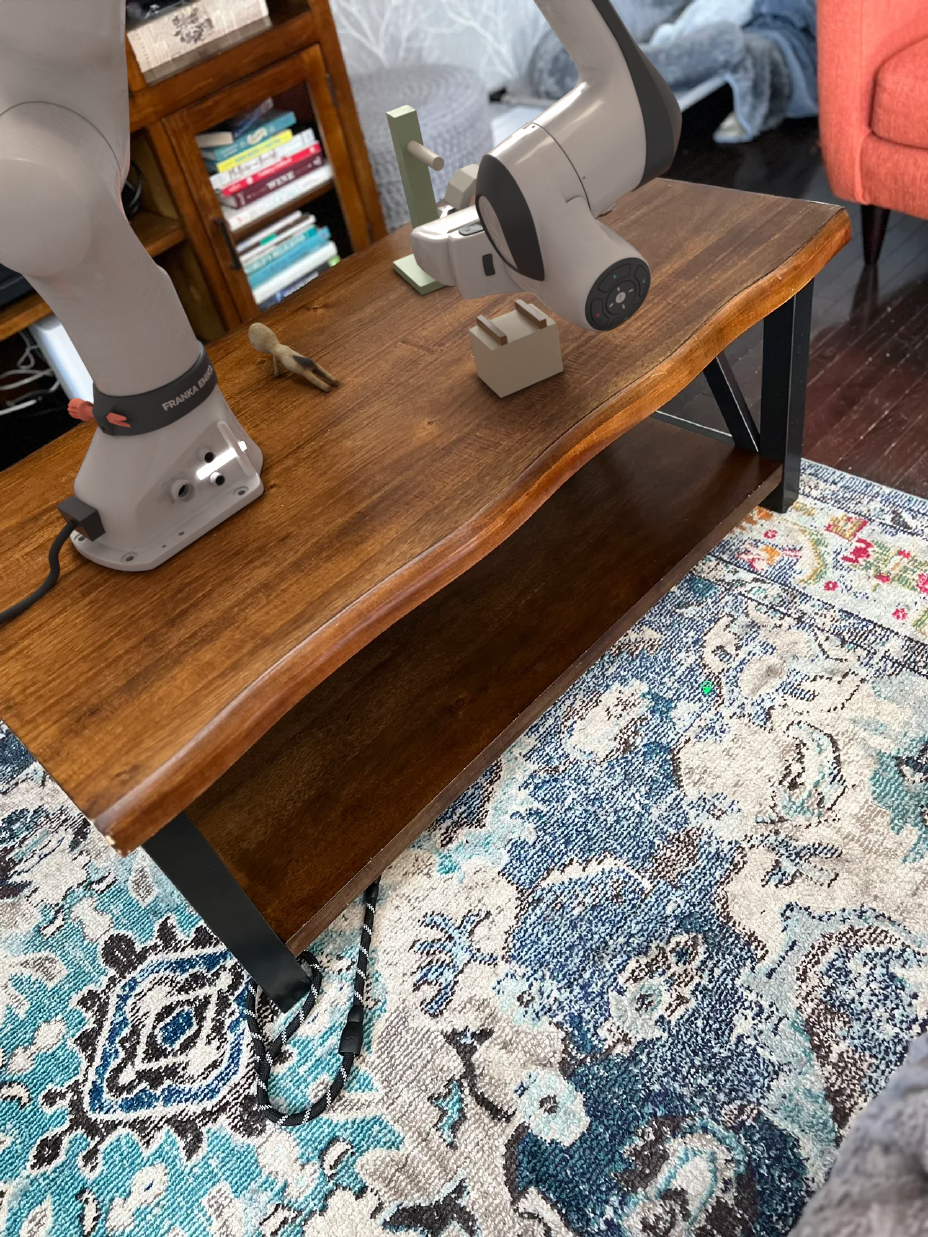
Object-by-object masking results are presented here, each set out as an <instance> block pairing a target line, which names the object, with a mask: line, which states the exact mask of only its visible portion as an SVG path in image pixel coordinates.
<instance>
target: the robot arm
mask: <svg viewBox="0 0 928 1237" xmlns="http://www.w3.org/2000/svg"><path fill="white" fill-rule="evenodd" d="M532 1H533V2H534V4H535V5H536V7H537V8H538V10H539V11H540V13H541V15H542V16H543V17H544V20H546V22H547V24H548V26H549V27H550V28H551V30H552V31H553V33H554V34H555V36H556V37H557V39H558V40H559V42H560V44H561V45H562V47H563V48H564V50H565V51H566V52H567V54H568V56H569V57H570V58H571V60H572V62H573V63H574V64H575V67H576V69H577V72H578V78H577V82H576V84H575V86H573V88H572V89H571V90H570V91H569V92H567V93H566V94H564V95H563V96H562V97H561V98H559V99H558V100H556V102H554V103H553V104H552V105H550V106H549V107H547V108H546V109H545V110H544V111H542V112H541V113H539V114H538V115H537V116H535V117H534V118H533V119H531V120H529V121H528V122H526V123H524V124H523V125H522V126H520V127H519V128H517V129H516V130H515V131H513V132H512V133H511V134H510V135H508V136H507V137H505V139H503V140H502V141H501V142H499V143H498V144H496V145H495V146H494V147H493V148H492V149H490V150H489V151H488V152H487V153H486V154H484V155H482V158H481V160H480V162H479V169H478V173H477V180H476V191H475V194H474V204H472V205H469V207H467V208H465V209H462V210H460V211H457V212H455V207H453V206H452V205H451V204H447V205H445V204H444V205H442V206H439V207H437V212H438V217H439V219H437V220H434V221H432V222H429V223H426V224H424V225H421V226H418V227H416V228H414V229H413V228H412V231H411V233H410V235H409V239H410V240H409V241H410V246H411V250H412V254H414V257H415V260H416V263H417V265H418V266H419V267H420V268H421V269H422V270H423V271H424V272H425V273H427V274H428V275H429V276H431V277H432V278H434V279H435V280H437V281H438V282H440V283H442V284H445V285H446V286H447V287H448V286H449V287H456V288H457V290H458V294H459V295H460V297H461V298H463V299H464V300H468V301H469V300H471V301H472V300H476V299H480V298H484V297H490V296H496V295H501V294H502V295H503V294H513V293H514V294H517V293H518V294H519V293H528V294H530V295H532V296H534V297H536V298H537V300H538V301H539V302H540V303H541V304H542V305H543V306H544V307H546V308H547V310H550V311H551V312H552V313H554V314H555V315H557V316H558V317H560V318H562V319H563V320H565V321H566V322H567V323H570V324H572V325H574V326H576V327H577V328H580V329H583V330H585V331H588V332H592V333H593V332H594V333H604V332H609V331H613V330H615V329H617V328H618V327H619V326H621V325H624V323H625V322H627V321H628V320H629V319H630V318H632V317H633V316H634V315H635V314H636V313H637V311H639V309H640V308H641V306H642V305H643V304H644V302H645V300H646V298H647V297H648V294H649V291H650V288H651V284H652V271H651V266H650V265H649V263H648V261H647V259H646V258H645V257H644V255H643V254H642V253H641V252H640V251H639V250H638V249H636V247H635V246H634V245H632V243H630V242H629V241H628V240H627V239H626V238H624V237H623V236H622V235H620V234H619V233H617V232H616V231H615V230H613V229H612V228H610V227H609V226H607V225H606V224H605V223H602V221H601V220H602V219H603V218H604V217H606V216H608V215H610V214H611V213H612V212H613V209H614V208H615V207H617V205H618V203H619V201H621V200H622V199H623V198H624V197H626V196H627V195H628V194H630V193H634V192H635V191H637V190H639V189H640V188H642V187H644V186H645V185H647V184H648V183H650V182H652V181H653V180H655V179H657V178H658V177H659V176H661V175H663V174H665V173H667V172H668V171H669V170H670V168H671V166H672V164H673V161H674V159H675V156H676V153H677V150H678V147H679V142H680V137H681V133H682V126H683V125H682V124H683V115H682V111H681V107H680V105H679V102H678V100H677V98H676V96H675V94H674V92H673V90H672V89H671V87H670V86H669V84H668V83H667V81H666V80H665V79H664V77H663V75H662V74H661V73H660V71H659V70H658V69H657V68H656V66H655V65H654V64H653V63H652V61H651V60H650V59H649V58H648V56H647V55H646V54H645V53H644V51H643V50H642V49H641V47H640V46H639V45H638V43H637V42H636V41H635V39H634V37H633V36H632V35H631V33H630V31H629V29H628V28H627V27H626V24H625V23H624V21H623V20H622V18H621V16H620V15H619V13H618V11H617V10H616V8H615V7H614V5H613V3H612V2H611V0H532ZM126 2H127V1H126V0H0V264H1V265H2V266H4V267H6V268H7V269H10V270H12V271H14V272H17V273H19V274H21V275H22V276H23V277H24V279H25V280H26V281H27V282H28V283H29V284H30V286H31V287H32V288H33V289H34V291H36V292H37V293H38V295H39V296H40V297H41V298H42V299H43V301H44V302H45V303H46V304H47V306H48V307H49V309H51V312H52V313H54V315H55V316H56V318H57V319H58V321H59V322H60V324H61V326H62V327H63V329H64V330H65V333H66V334H67V337H68V338H69V340H70V342H71V343H72V345H73V347H74V349H75V351H76V352H77V354H78V356H79V358H80V360H81V362H82V363H83V365H84V367H85V369H86V371H87V373H88V374H89V376H90V379H91V380H92V397H93V398H92V399H93V401H92V402H91V401H89V400H84V399H82V398H80V397H74V398H72V399H70V401H69V403H68V404H67V406H68V408H67V411H68V414H69V415H70V417H72V418H74V419H77V420H81V421H84V422H89V421H91V420H92V419H94V420H95V422H96V425H97V427H96V430H95V432H94V434H93V437H92V439H91V442H90V444H89V447H88V450H87V451H86V454H85V456H84V459H83V460H82V463H81V465H80V468H79V470H78V472H77V474H76V476H75V479H74V482H73V494H74V495H72V494H71V495H70V496H69V497H67V498H65V499H64V500H63V501H61V502H59V503H58V504H57V505H55V507H56V509H57V510H58V513H60V515H61V517H62V518H63V520H64V522H65V525H64V526H63V528H62V529H61V530H60V531H59V533H58V534H57V535H56V537H55V538H54V540H53V542H52V543H51V546H50V549H49V551H48V556H47V558H48V565H49V573H48V575H47V577H46V579H45V580H44V582H42V584H41V585H40V586H39V587H38V588H37V589H36V590H35V591H34V592H33V593H32V594H30V595H29V596H28V597H26V598H24V599H23V600H21V601H19V602H17V603H15V604H14V605H12V606H11V607H9V608H7V609H5V610H3V611H2V612H0V625H3V624H4V623H6V622H7V621H9V620H11V619H12V618H15V617H16V616H18V615H19V614H21V613H23V612H24V611H26V610H27V609H29V608H31V606H33V605H34V604H35V603H36V602H38V601H39V600H40V599H41V598H42V597H44V596H45V595H46V594H47V593H48V592H50V591H51V589H52V588H53V587H54V585H56V583H57V581H58V579H59V577H60V574H61V563H60V559H59V557H60V553H61V550H62V548H63V546H64V544H65V543H66V541H67V540H68V539H69V538H70V540H71V542H72V545H73V546H74V548H75V549H76V551H77V552H78V553H79V554H80V555H82V556H83V557H84V558H86V559H87V560H89V561H90V562H91V561H92V562H94V563H95V564H98V565H100V566H103V567H105V568H109V569H111V570H118V571H123V572H143V571H150V570H154V569H155V568H157V567H158V566H160V565H162V564H163V563H164V562H166V561H167V560H170V559H171V558H172V557H173V556H175V555H176V554H178V553H179V552H181V551H182V550H184V549H185V548H186V547H188V546H189V545H191V544H193V543H194V542H195V541H196V540H198V539H199V538H201V537H202V536H204V535H205V534H207V533H208V532H209V531H211V530H213V529H214V528H215V527H217V526H218V525H220V524H221V523H223V522H224V521H225V520H227V519H228V518H230V517H231V516H233V515H234V514H236V513H237V512H238V511H240V510H241V509H243V508H244V507H246V506H248V505H249V504H251V503H252V502H253V501H255V500H256V499H258V498H259V497H260V496H261V495H262V494H263V493H264V490H265V487H264V483H263V480H262V479H261V472H262V468H263V464H264V456H263V452H262V450H261V448H260V447H259V445H257V444H256V443H255V441H254V440H253V439H252V438H251V437H250V435H249V434H248V433H247V432H246V430H245V429H244V427H243V426H242V424H241V423H240V421H239V420H238V418H237V417H236V415H235V414H234V412H233V410H232V409H231V407H230V405H229V403H228V402H227V400H226V398H225V396H224V395H223V392H222V391H221V389H220V387H219V381H218V374H217V371H216V369H215V368H214V365H213V362H212V361H211V358H210V356H209V354H208V352H207V350H206V347H205V346H204V344H203V343H202V342H201V341H200V340H199V339H197V337H196V334H195V332H194V330H193V328H192V326H191V323H190V321H189V319H188V317H187V314H186V311H185V309H184V307H183V304H182V303H181V300H180V298H179V295H178V294H177V291H176V288H175V286H174V283H173V281H172V279H171V276H170V275H169V274H168V272H167V271H166V270H165V268H163V267H161V266H160V265H159V264H157V263H156V262H155V260H154V259H153V258H152V256H150V254H149V252H148V251H147V249H146V248H145V247H144V245H143V243H142V242H141V240H140V238H138V236H137V234H136V233H135V231H134V229H133V228H132V226H131V224H130V222H129V220H128V217H127V215H126V212H125V210H124V206H123V201H122V192H123V189H124V187H125V184H126V181H127V178H128V175H129V172H130V164H131V133H130V132H131V130H130V100H129V99H130V98H129V97H130V96H129V82H128V81H129V80H128V66H127V50H126V10H127V9H126V7H127V6H126V4H127V3H126Z"/></svg>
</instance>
